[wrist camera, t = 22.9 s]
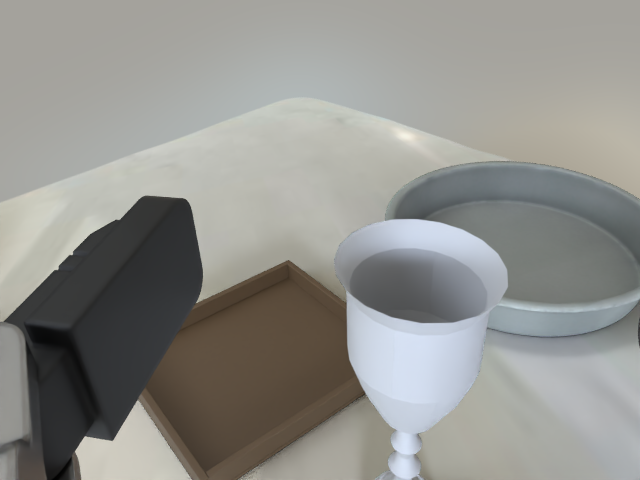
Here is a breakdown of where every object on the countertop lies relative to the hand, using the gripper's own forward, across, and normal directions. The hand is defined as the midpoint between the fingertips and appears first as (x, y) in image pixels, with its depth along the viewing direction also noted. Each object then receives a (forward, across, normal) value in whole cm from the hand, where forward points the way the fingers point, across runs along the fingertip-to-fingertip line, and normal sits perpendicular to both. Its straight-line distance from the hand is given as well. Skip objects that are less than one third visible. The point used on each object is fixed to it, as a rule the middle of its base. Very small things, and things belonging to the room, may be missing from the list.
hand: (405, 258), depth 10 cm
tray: (+21, +12, +26) cm, 36 cm away
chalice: (+11, 0, +26) cm, 28 cm away
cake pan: (+38, -8, +26) cm, 47 cm away
